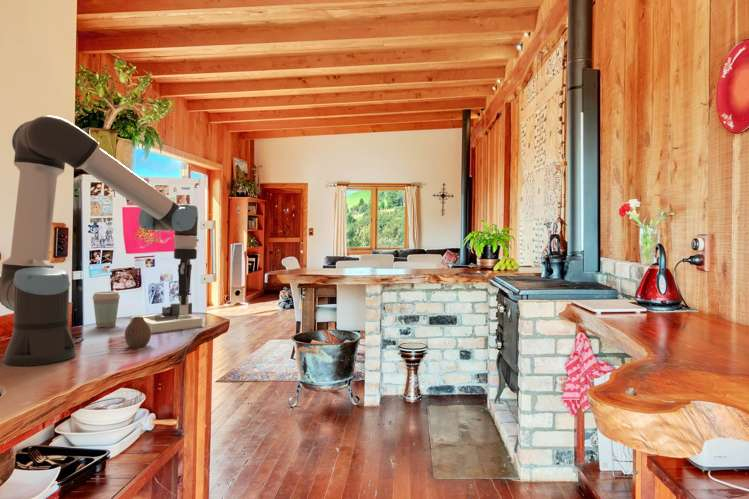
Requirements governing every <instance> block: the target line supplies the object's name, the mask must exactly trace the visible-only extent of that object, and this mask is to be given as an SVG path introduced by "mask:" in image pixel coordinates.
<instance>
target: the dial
mask: <svg viewBox="0 0 749 499" xmlns="http://www.w3.org/2000/svg"><path fill="white" fill-rule="evenodd" d="M179 311H180V302H175V303H174V302H173V303H170V304H169V306H162V307H161V313H157V314H158V315H155V316H154V321H156V322H160V321H168V320H174V319H178V315H187V314H179ZM188 314H190V315H192V314H193V303H192V302H188Z"/></svg>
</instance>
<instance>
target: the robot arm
mask: <svg viewBox="0 0 749 499" xmlns="http://www.w3.org/2000/svg"><path fill="white" fill-rule="evenodd" d="M11 144H12V148H13V151H14V160H13V165H14V166H15V167H16V169H18V170H19V175H18V176H19V179H18V185H17V195H16V204H15V213H14V222H13V231H12V232H13V233H12V240H11V248H10V255H9V258H7V259H5V260H4V261H2V266H1V271H0V272H1V273H0V304H1V305H2V306H3V307H5V308H6V309H8V310H10V311H13V332H12V335H11V338H10V340H9V342H8V345H7V347H6V350H5V352H4V363H5V364H6V365H10V366H24V367H25V366H40V365H47V364H54V363H59V362H63V361H67V360H69V359H72V358H75V356H76V355H77V348H76V344H75V341H74V338H73V336H72V333H71V331H70V328H69V315H70V314H69V313H70V312H69V311H70V310H69V308H70V307H69V306H70V304H69V303H70V285H71V283H70V278H69V273H68V272H67V271H65V270H63V269H60V268H54V266H55V265H54V264H53V263H52V261H50V259H49V255H50V245H51V238H52V229H53V228H52V226H53V218H54V209H55V201H56V200H55V199H56V190H57V181H58V177H59V176H61V175H62V174H64V173H65V166H66V164H67V166H68V165H69V166H70V167H72V168H73V169H74V170H83V171H84V172H86V173H87V174H89V175H91V176H92V177H94V178H95V179H96V180H98V181H99V182H101V183H102V184H104V185H105V186H107V187H108V188H110V189H111V190H113V191H114V192H115V193H117V194H119V195H120V196H122V197H123V198H125V199H126V200H127V201H128V202H130V203H132V204H134V205H135V206H137V207H138V208H139V209H140V211H139V213H138V224H139V226H140V228H141V229H142V230H144V231H145V230H147V231H164V232H165V231H167V232H171V231H172V232H174V236H173V237H174V239H173V240H174V242H173V247H175V248H174V250H173V259H175V260H180V261H179V263H178V266H177V272H178V273H177V274H178V275H177V276H178V293H177V296H178V297H179V303H180V311H179V314H188V303H189V297H190V296H191V295H192V293H191V278H192V275H191V274H192V269H193V268H192V266H193V264H192V263H191V260H196V259H197V254H198V252H197V251H198V249H196V248H198V247H197V246H198V244H197V243H198V242H200V241H199V239H198V220H199V212H198V207H197V206H196V205H194V204H184V203H183V204H181V203H180V204H179V203H178V204H177V202H175V201H173V200H171V199H170V198H169V197H168V196H166V195H165V194H163V193H162V192H160V190H159V189H157V188H155V187H154V186H152V185H151V184H150V183H148V182H147V181H146V180H144V179H143V178H142V177H140V176H139V175H137V173H135V172H133V171H132V170H131V169H129V168H128V167H127V166H125V165H124V164H122V163H121V162H120V161H119V160H117V159H115V158H114V157H113V156H112V155H110V154H108V152H107V151H105V150H103V149H102V148H101V147H100V146H101V145H100V142H98V141H97V140H96V139H94V137H92V136H90V134H88V133H87V132H85V131H84V130H82V129H81V128H80V127H78V126H77V125H75V124H74V123H72V122H70V121H69V120H67V119H64V118H62V117H59V116H56V115H43V116H38V117H36V118H34V119H33V120H29V121H26V122H24V123H22V124H20V125H19V126H18V127H17V128H16V129H15V131H14V132H13V134H12V138H11Z"/></svg>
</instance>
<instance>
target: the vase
mask: <svg viewBox="0 0 749 499" xmlns="http://www.w3.org/2000/svg"><path fill="white" fill-rule="evenodd" d="M133 317H134V318H133V320H132V321H131V323H130V322H129V323H128V325H127V327H126V328H125V331H124V341H125V343H126V345H127V346H128V347H129V348H131V349H140V348H141V349H142V348H144V347H146V346H147V345H148V344H149V343H150V340H151V337H152V333H151V330H150V327H149V325H148V324H147V323H146V322H145V321H144V319H143V317H135V316H133Z"/></svg>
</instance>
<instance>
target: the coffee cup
mask: <svg viewBox="0 0 749 499" xmlns="http://www.w3.org/2000/svg"><path fill="white" fill-rule="evenodd" d="M91 299H92V300H93V310H94V318H95V326H97V327H110V328H113V327H116V324H117V316H118V310H119V301H120V299H121V297H120V294H119V292H118V291H97V292H94V293H93V296H92V298H91ZM97 327H96V328H97Z"/></svg>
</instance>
